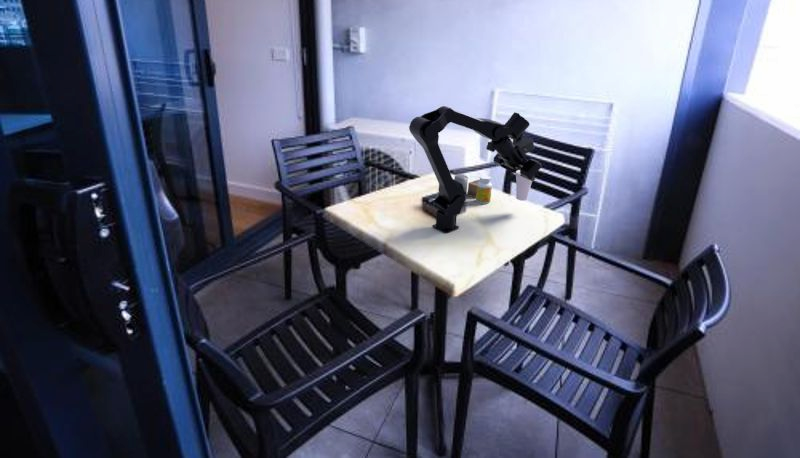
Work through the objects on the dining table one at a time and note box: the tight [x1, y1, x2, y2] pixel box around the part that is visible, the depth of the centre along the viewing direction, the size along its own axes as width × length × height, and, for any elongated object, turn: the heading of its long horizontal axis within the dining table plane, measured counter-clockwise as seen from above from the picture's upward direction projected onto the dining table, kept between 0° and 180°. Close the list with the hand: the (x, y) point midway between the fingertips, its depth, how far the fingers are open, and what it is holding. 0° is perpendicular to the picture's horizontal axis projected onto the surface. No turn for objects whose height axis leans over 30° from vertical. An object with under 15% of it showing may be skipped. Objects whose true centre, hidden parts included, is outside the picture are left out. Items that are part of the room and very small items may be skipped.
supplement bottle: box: [475, 175, 493, 205], centre depth 176 cm, size 5×5×10 cm
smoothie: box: [514, 170, 533, 201], centre depth 164 cm, size 6×6×14 cm
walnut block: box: [466, 179, 480, 199], centre depth 183 cm, size 6×5×5 cm
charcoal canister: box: [453, 174, 469, 198], centre depth 180 cm, size 5×5×8 cm
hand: (527, 177), depth 164 cm, fingers closed on smoothie, 6 cm apart
